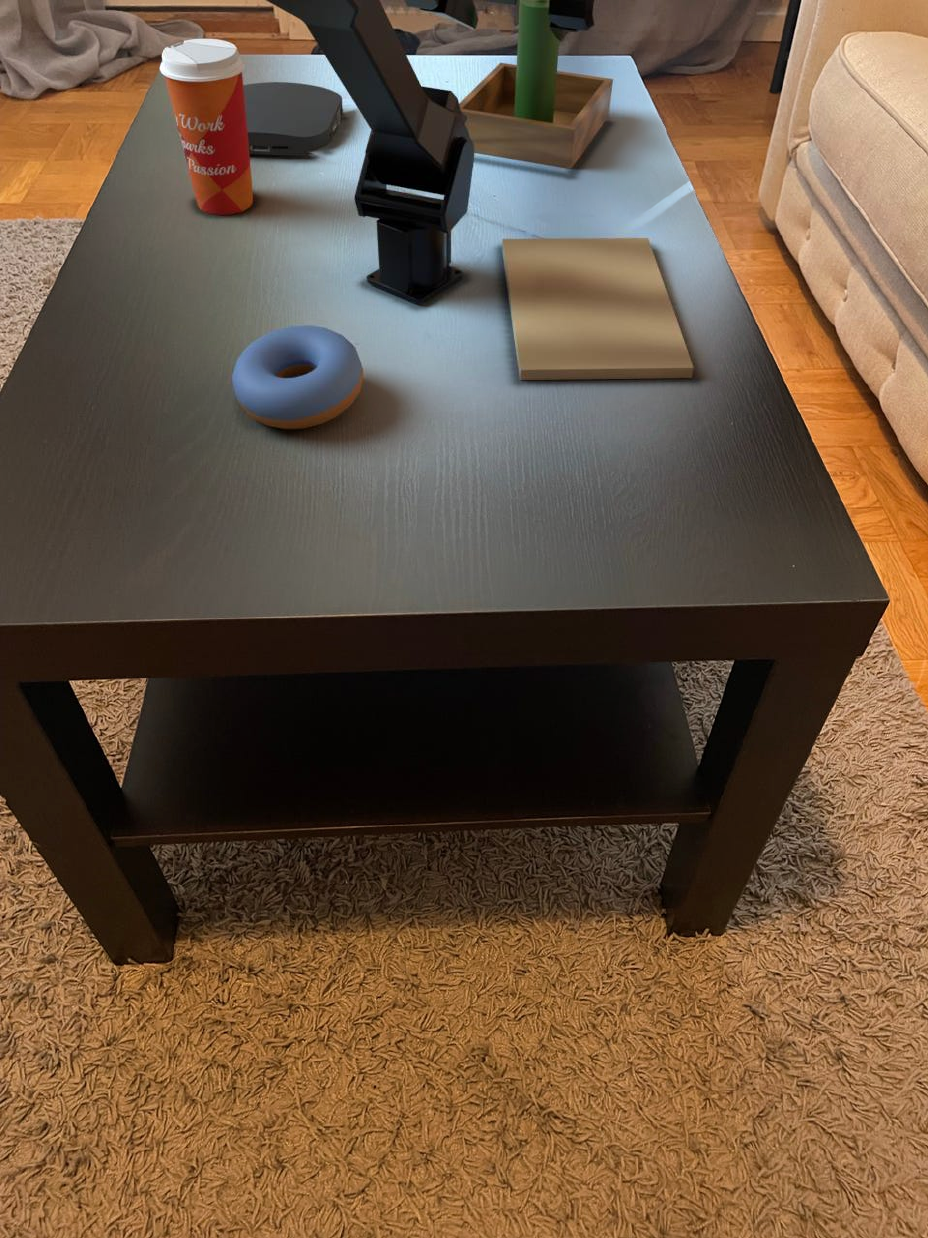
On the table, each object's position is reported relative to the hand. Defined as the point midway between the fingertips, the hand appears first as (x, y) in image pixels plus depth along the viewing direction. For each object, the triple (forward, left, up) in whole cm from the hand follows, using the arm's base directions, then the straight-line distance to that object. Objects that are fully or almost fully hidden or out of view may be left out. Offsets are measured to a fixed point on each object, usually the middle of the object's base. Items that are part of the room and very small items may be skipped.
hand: (518, 29), depth 97 cm
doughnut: (-46, -13, -13) cm, 50 cm away
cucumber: (+7, +2, -12) cm, 14 cm away
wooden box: (+7, +2, -13) cm, 15 cm away
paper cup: (-26, +17, -13) cm, 34 cm away
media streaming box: (-10, +26, -13) cm, 31 cm away
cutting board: (-20, -23, -13) cm, 33 cm away
